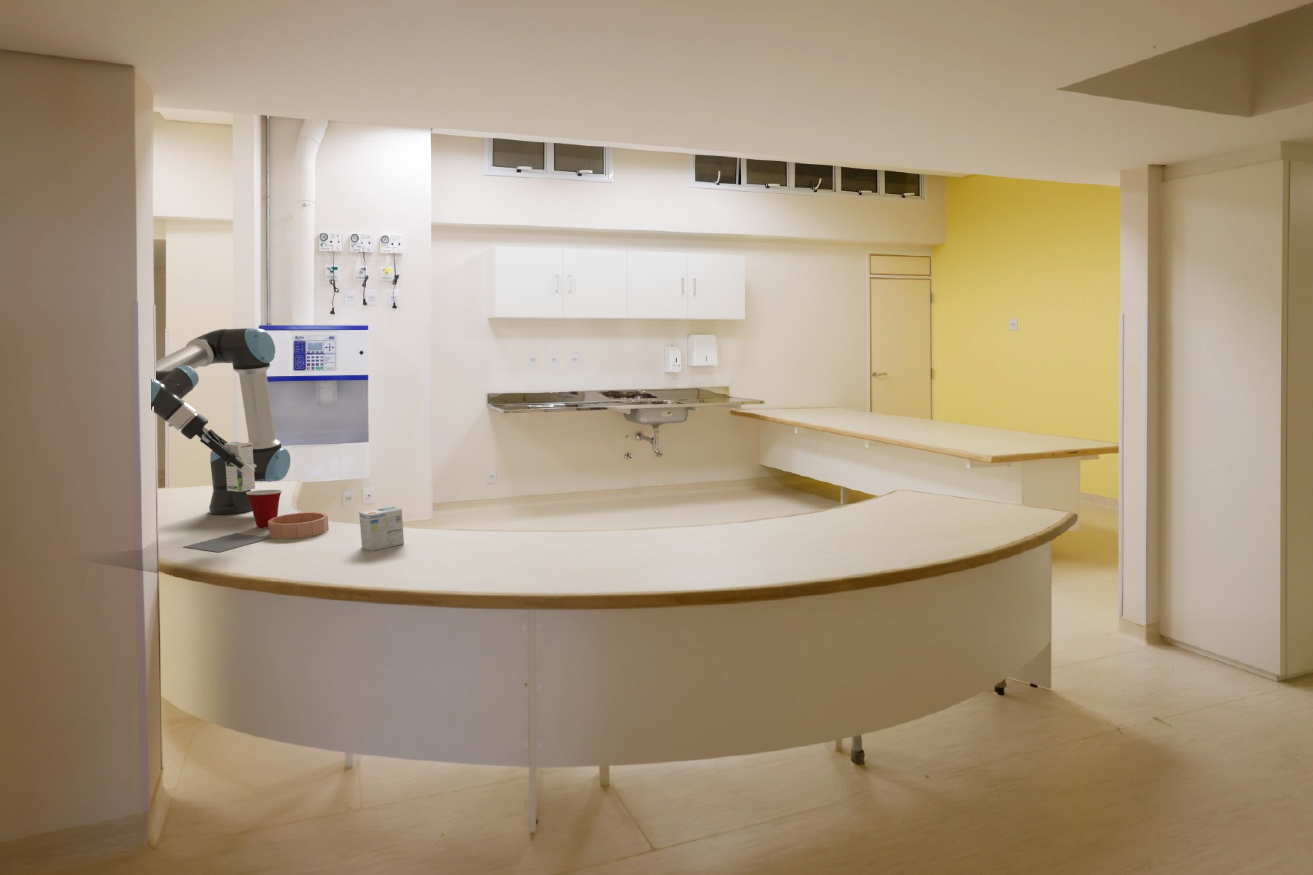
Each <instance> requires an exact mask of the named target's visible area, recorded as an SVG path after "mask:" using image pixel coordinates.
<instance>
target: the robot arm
mask: <svg viewBox="0 0 1313 875" xmlns="http://www.w3.org/2000/svg"><path fill="white" fill-rule="evenodd" d="M275 354H276V346H275V343H274V340H273V337H272V336H271V335H270V334H269V332H268V331H266V330H265V329H262V328H255V327H254V328H253V327H247V328H244V327H243V328H228V329H227V328H221V329H215V330H213V331H209V332H207V333H205V334H202V335H199V336H198V337H195V338H193V339H191V340H189V341H188V342H187V343H186V345H185V346H184V347H182V348H181V349H179V350H176V351H175V352H172V353H170V354H168V355H166V356H164V357H162V358H160V359H158V360H156V361H155V362H156V381H155V379H153V382H152V379H151V411H152V407H153V406H154V412H153V413H155V415H157V416H158V417H160V418H161V419H163V420H164V421H165V422H167V424H168V427H169V428H171V427H173V428H174V429H176V430H177V431H179V430H180V434H181V435H183V436H184V437H186V438H187V439H188V440H192V439H194V438H195V436H197V437H198V438H199V439H200V440H199V441H200V443H202V444H203V445H205V446H206V447H208V448H209V449H210V450H211V451H210V452H209V453H210V457H209V459H210V461H209V464H210V472H211V478H212V479H211V480H212V481H211V482H212V495H211V499H210V504H209V508H208V510H209V514H212V515H234V514H242V513H246V512H251V511H252V507H251V503H250V500H249V497H248V495H247V494H246V492H250V491H252V489H251V490H247V491H243V492H237V491H227V478H226V464H227V465H229V464H232V465H233V466H234V467H236V468H237V469H238V470H239V471H241V472H242V473H243V474H245V475H246V476H247V477H249V476H250V475H251V474H252V473H253V472H254V479H255V482H268V483H271V482H279V481H282V480H283V479H285V477H286V476H287V474H288V472H289V470H290V466H291V456H290V452H289V450H288V449H286V448H284V447H282V442H281V441H280V440H279V439H277V438H276V432H275V424H274V419H273V418H274V417H273V412H272V402H271V397H270V391H269V382H268V375H267V371H268V369H269V368H270V367H271V362H273V361H274V359H275ZM212 364H232V370H233V371H235V373H237V374H238V377H239V382H240V384H239V385H240V390H241V396H242V403H243V409H244V418H245V423H246V429H247V430H246V432H247V438H248V442H247V443H252V448H253V464H254V469H253V468H252V467H250V466H249V465H248V464H246V463H245V462H244V461H243V460H241V459H240V458H239V457H236V456H235V455H234V454H232V453H231V452H230V451H229V450H228V449H227V448H226V447H225V446H224V444H226V443H229V442H228V441H226V440H225V439H224V438H223V437H221V436H220V435H218V434H217V433H216V432H214V430H213V429H208V428H206V427H205V426H206V425H207V424H208V423H209V419H208V418H206V417H205V416H203V415H202V414H201V413H197V410H196V409H194V407H192V406H191V405H190V404H189V403H188V402H185V401H184V400H183V398H184V397H186V396H187V395H188V394H189V393H190V392H191V391H192V390H194V388H195V387H196V386H197V385H198V383H199V381H200V380H199V375H198V372H197V371H196V370H195V369H198V368H199V367H203V368H205V367H208V366H209V365H212ZM225 462H227V463H225Z"/></svg>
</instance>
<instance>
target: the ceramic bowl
mask: <svg viewBox="0 0 1313 875" xmlns="http://www.w3.org/2000/svg"><path fill="white" fill-rule="evenodd" d="M267 529H268V535H269V537H271V539H272V538H273V539H279V540H287V539H288V540H290V539H303V538H310V537H314V536H318V535H321V534H324V533H326V532H327V531H329V530H330V529H329V516H328V515H327V514H326V513H324V512H315V511H310V512H309V511H308V512H307V511H306V512H305V511H304V512H297V513H296V512H294V513H289V514H288V513H287V514H283V515H279V516H278V515H277V517H274V518H272V519H270V520H268V528H267Z"/></svg>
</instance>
